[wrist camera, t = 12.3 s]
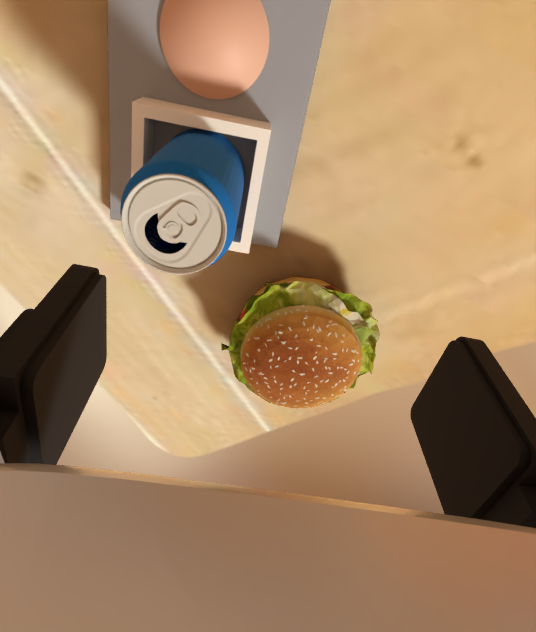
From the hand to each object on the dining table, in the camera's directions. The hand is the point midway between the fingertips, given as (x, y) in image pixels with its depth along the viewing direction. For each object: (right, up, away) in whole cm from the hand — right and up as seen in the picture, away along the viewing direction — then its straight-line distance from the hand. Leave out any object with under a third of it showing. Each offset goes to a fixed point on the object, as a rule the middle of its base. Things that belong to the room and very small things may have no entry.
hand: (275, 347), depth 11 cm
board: (-5, +16, +20) cm, 26 cm away
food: (+3, 0, +31) cm, 31 cm away
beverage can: (-5, +12, +21) cm, 25 cm away
